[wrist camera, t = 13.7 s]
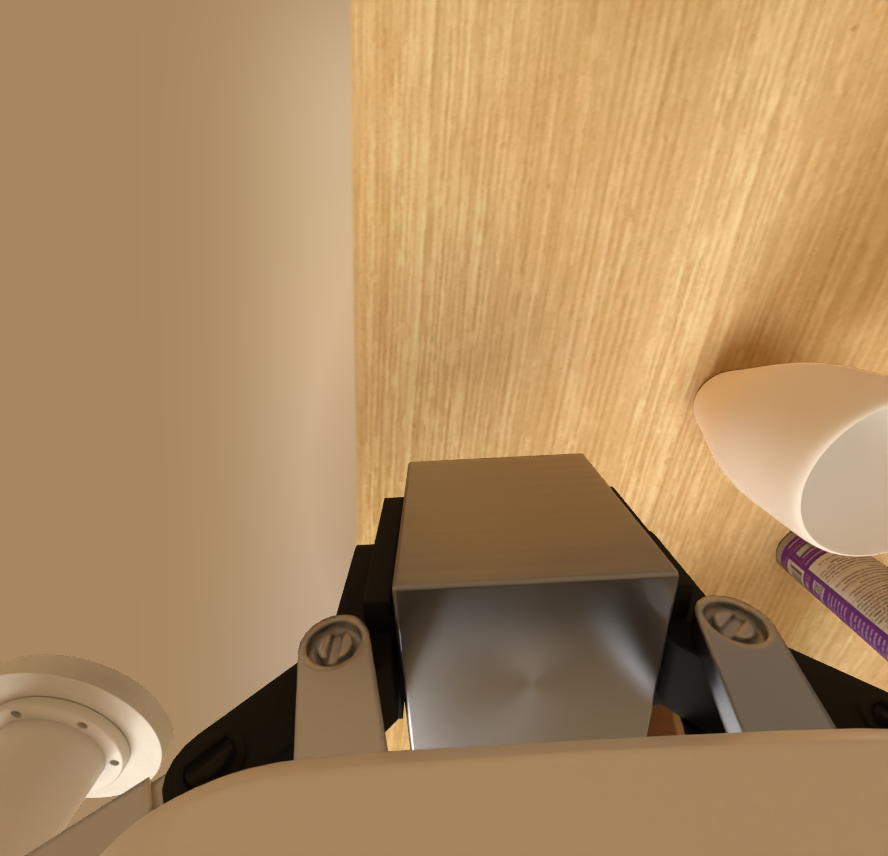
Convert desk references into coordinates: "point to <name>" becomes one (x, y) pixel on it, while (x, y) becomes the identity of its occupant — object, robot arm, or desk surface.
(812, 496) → the mug
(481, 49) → the desk surface
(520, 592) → the block
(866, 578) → the container
